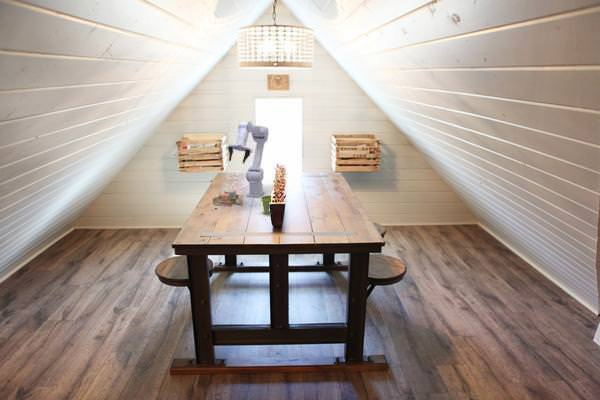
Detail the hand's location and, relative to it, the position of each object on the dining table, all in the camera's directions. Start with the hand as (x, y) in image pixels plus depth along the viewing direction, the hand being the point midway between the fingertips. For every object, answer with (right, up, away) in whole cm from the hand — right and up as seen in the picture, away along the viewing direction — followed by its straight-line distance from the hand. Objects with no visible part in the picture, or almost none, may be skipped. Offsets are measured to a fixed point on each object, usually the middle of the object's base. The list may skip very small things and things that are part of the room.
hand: (236, 161), depth 252 cm
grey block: (-7, -21, +24) cm, 33 cm away
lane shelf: (-8, -22, +21) cm, 31 cm away
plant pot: (+18, -29, 0) cm, 34 cm away
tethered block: (-5, -24, +16) cm, 29 cm away
